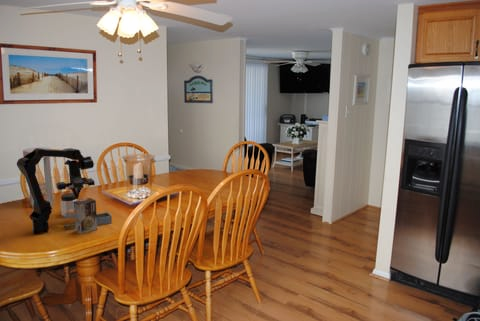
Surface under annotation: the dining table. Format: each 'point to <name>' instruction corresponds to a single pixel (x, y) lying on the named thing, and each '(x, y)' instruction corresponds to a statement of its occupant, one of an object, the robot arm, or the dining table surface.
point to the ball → (70, 212)
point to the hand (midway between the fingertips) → (76, 198)
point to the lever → (69, 216)
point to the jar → (67, 202)
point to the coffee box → (85, 215)
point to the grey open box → (104, 218)
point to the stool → (47, 178)
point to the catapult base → (70, 227)
